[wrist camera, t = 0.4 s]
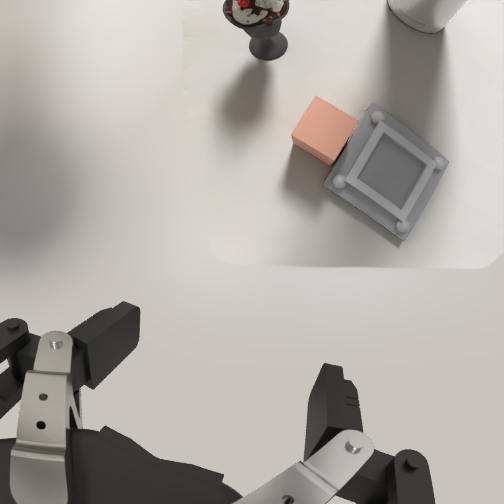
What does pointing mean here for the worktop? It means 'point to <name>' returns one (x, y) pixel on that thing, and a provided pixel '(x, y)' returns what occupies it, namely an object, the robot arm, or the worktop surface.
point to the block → (323, 130)
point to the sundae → (260, 24)
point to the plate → (387, 172)
